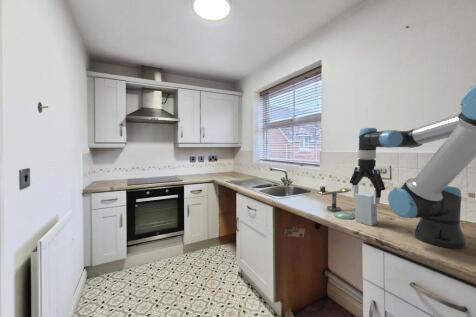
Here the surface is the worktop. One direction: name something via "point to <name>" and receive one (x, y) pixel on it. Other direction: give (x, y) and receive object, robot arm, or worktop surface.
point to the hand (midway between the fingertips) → (365, 200)
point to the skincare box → (365, 209)
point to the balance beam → (342, 190)
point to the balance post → (334, 204)
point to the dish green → (344, 215)
